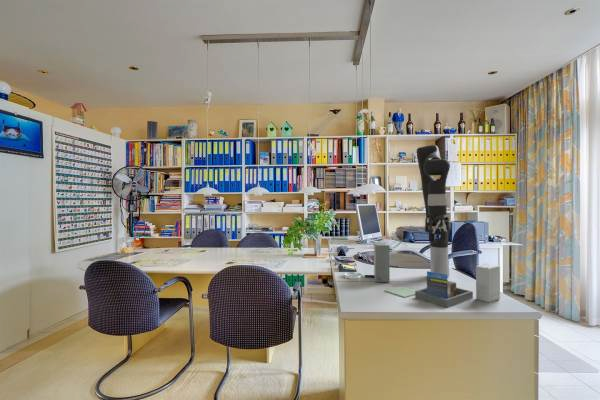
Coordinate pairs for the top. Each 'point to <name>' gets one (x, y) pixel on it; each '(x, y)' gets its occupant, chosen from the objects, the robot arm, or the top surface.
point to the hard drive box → (381, 262)
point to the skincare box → (488, 282)
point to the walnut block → (452, 289)
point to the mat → (401, 291)
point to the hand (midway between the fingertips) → (437, 241)
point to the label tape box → (438, 285)
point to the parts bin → (461, 297)
